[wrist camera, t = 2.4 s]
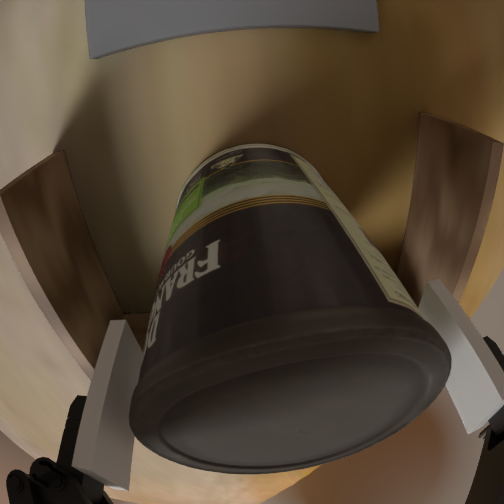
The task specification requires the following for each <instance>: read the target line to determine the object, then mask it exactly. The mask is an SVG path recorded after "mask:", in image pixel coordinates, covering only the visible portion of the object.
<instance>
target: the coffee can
mask: <svg viewBox="0 0 504 504" xmlns="http://www.w3.org/2000/svg"><path fill="white" fill-rule="evenodd" d="M451 363H452V358H451V353H450V351H449V348H448V346H447V344H446V343H445V341H444V340H443V338H442V337H441V336H440V334H439V333H438V332H437V330H436V329H435V328H434V327H433V326H432V325H431V324H430V323H428V322H427V321H426V320H425V319H424V317H423V316H422V314H421V312H420V311H419V309H418V308H417V306H416V305H415V303H414V301H413V300H412V298H411V297H410V295H409V294H408V292H407V291H406V289H405V288H404V286H403V285H402V283H401V282H400V280H399V279H398V277H397V276H396V275H395V273H394V272H393V270H392V269H391V267H390V266H389V265H388V263H387V262H386V260H385V258H384V257H383V256H382V254H381V253H380V252H379V251H378V249H377V248H376V246H375V245H374V244H373V242H372V241H371V240H370V239H369V237H368V236H367V235H366V233H365V232H364V231H363V229H362V228H361V227H360V225H359V224H358V223H357V221H356V220H355V219H354V217H353V216H352V215H351V214H350V212H349V211H348V210H347V209H346V207H345V206H344V205H343V203H342V202H341V201H340V200H339V198H338V197H337V196H336V195H335V193H334V192H333V191H332V190H331V189H330V187H329V186H328V185H327V184H326V183H325V182H324V180H323V179H322V177H321V175H320V174H319V173H318V171H317V170H316V169H315V168H314V167H313V166H312V165H311V164H310V163H309V162H308V161H307V160H305V159H304V158H303V157H301V156H300V155H298V154H296V153H294V152H293V151H291V150H289V149H286V148H282V147H279V146H275V145H270V144H245V145H239V146H235V147H232V148H228V149H225V150H223V151H221V152H218V153H216V154H215V155H213V156H211V157H210V158H208V159H207V160H205V161H204V162H203V163H202V164H201V165H200V166H199V167H198V168H197V169H196V170H195V171H194V172H193V173H192V174H191V175H190V177H189V178H188V179H187V181H186V183H185V184H184V186H183V188H182V190H181V192H180V194H179V198H178V201H177V206H176V213H175V217H174V220H173V224H172V228H171V232H170V235H169V239H168V243H167V247H166V251H165V255H164V259H163V263H162V267H161V271H160V275H159V280H158V283H157V288H156V292H155V297H154V301H153V306H152V310H151V314H150V320H149V325H148V330H147V336H146V340H145V343H144V351H143V357H142V363H141V369H140V374H139V380H138V384H137V386H136V387H135V389H134V392H133V395H132V398H131V404H130V410H129V425H130V428H131V430H132V432H133V434H134V435H135V437H136V438H137V440H139V441H140V442H141V443H142V444H143V445H144V446H145V447H147V448H148V449H150V450H151V451H152V452H154V453H156V454H158V455H159V456H161V457H163V458H166V459H168V460H170V461H173V462H176V463H178V464H181V465H185V466H188V467H191V468H196V469H200V470H205V471H212V472H220V473H228V474H268V473H278V472H287V471H292V470H299V469H304V468H309V467H314V466H318V465H322V464H326V463H329V462H333V461H336V460H339V459H342V458H345V457H347V456H350V455H352V454H355V453H357V452H360V451H362V450H364V449H367V448H369V447H371V446H373V445H375V444H377V443H379V442H381V441H383V440H385V439H386V438H388V437H390V436H391V435H393V434H395V433H396V432H398V431H399V430H401V429H402V428H404V427H405V426H407V425H408V424H409V423H411V422H412V421H413V420H414V419H416V418H417V417H418V416H419V415H420V414H421V413H422V412H423V411H425V410H426V409H427V408H428V407H429V406H430V404H431V403H432V402H433V401H434V400H435V399H436V397H437V396H438V395H439V394H440V392H441V391H442V389H443V388H444V386H445V384H446V382H447V380H448V377H449V375H450V371H451Z"/></svg>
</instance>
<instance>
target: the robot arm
mask: <svg viewBox="0 0 504 504" xmlns="http://www.w3.org/2000/svg"><path fill="white" fill-rule="evenodd" d="M418 309H419V311H420V312H421V314H422V316H423V317H424V319H425V320H426V321H427V322H428V323H430V324H431V325H432V326H433V327H434V328H435V329H436V330H437V332H438V333H439V334H440V336H441V337H442V338H443V340H444V341H445V343H446V344H447V346H448V348H449V351H450V353H451V358H452V363H451V371H450V375H449V377H448V380H447V382H446V384H445V385H446V387H447V389H448V392H449V394H450V396H451V398H452V400H453V402H454V404H455V406H456V408H457V410H458V413H459V415H460V417H461V419H462V421H463V424H464V426H465V429H466V431H467V433H468V434H470V433H471V432H473V431H475V430H477V429H479V428H481V427H482V426H483V425H484V424H485V423H486V422H487V421H489V423H490V424H489V425H488V426H487V427H486V428H485V429H484V430H483V431H482V432H481V433H480V435H479V438H481V437H482V436H483V435H484V434H485V433H486V435H485V436H484V438H483V439H485V441H484V445H483V449H482V452H481V456H480V460H479V463H478V467H477V470H476V474H475V477H474V480H473V483H472V486H471V489H470V492H469V494H468V497H467V500H466V502H465V504H504V355H503V354H502V352H501V351H500V349H499V348H498V346H497V344H496V343H495V342H494V341H492V340H491V339H490V338H489V337H488V336H486V337H484V338H482V336H481V335H480V334H479V332H478V330H477V329H476V327H475V326H474V325H473V323H472V322H471V320H470V319H469V317H468V316H467V315H466V313H465V312H464V310H463V309H462V308H461V306H460V305H459V303H458V302H457V301H456V299H455V298H454V297H453V295H452V294H451V293H450V291H449V290H448V289H447V288H446V286H445V285H444V284H443V282H442V281H441V280H440V279H436V280H432V281H427V283H426V286H425V289H424V293H423V296H422V299H421V301H420V304H419V307H418ZM142 357H143V352H142V350H141V348H140V346H139V344H138V342H137V340H136V338H135V337H134V335H133V333H132V331H131V329H130V327H129V325H128V323H127V321H126V320H110V323H109V326H108V329H107V332H106V335H105V338H104V341H103V344H102V347H101V350H100V353H99V357H98V360H97V363H96V367H95V370H94V373H93V377H92V380H91V384H90V387H89V391H88V395H87V396H79V395H77V397H76V398H75V400H74V401H73V402H72V404H71V405H70V409H69V413H68V416H67V418H68V419H67V420H66V424H65V429H64V432H63V436H62V441H61V445H60V450H59V454H58V459H57V462H56V463H55V462H54V461H52V460H51V459H49V458H46V457H41V458H38V459H36V460H35V461H34V462H33V463H32V466H31V467H30V474H26V473H24V472H22V471H21V470H13V471H11V472H10V473H9V474H8V476H7V480H6V486H7V492H8V497H9V502H10V504H113V502H112V501H111V500H110V498H109V497H108V495H107V494H106V492H105V491H104V490H103V489H104V485H106V486H108V487H110V488H113V489H118V490H125V491H129V483H130V472H131V462H132V453H133V444H134V436H135V435H134V434H133V432H132V430H131V428H130V425H129V410H130V404H131V398H132V395H133V392H134V389H135V387H136V386H137V384H138V380H139V374H140V369H141V363H142Z"/></svg>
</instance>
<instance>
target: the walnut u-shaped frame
mask: <svg viewBox="0 0 504 504" xmlns="http://www.w3.org/2000/svg"><path fill="white" fill-rule="evenodd" d="M503 145H504V143H502V142H499V141H497V140H495V139H493V138H491V137H489V136H486V135H484V134H482V133H480V132H477V131H475V130H473V129H470V128H468V127H465V126H463V125H460V124H458V123H455V122H453V121H450V120H447V119H444V118H442V117H439V116H436V115H433V114H429V113H420V112H419V130H418V144H417V155H416V165H415V173H414V181H413V189H412V196H411V203H410V209H409V215H408V221H407V226H406V232H405V237H404V242H403V247H402V251H401V256H400V261H399V265H398V269H397V273H396V276H397V277H398V279H399V280H400V282H401V283H402V285H403V286H404V288H405V289H406V291H407V292H408V294H409V295H410V297H411V298H412V300H413V301H414V303H415V305H416V306H417V308H418V307H419V304H420V301H421V299H422V296H423V293H424V289H425V286H426V283H427V281H432V280H436V279H440V280H441V281H442V282H443V284H444V285H445V286H446V288H447V289H448V290H449V291H450V293H451V294H452V295H453V297H454V298H455V299H456V301H457V302H458V303H459V301H460V299H461V296H462V294H463V291H464V289H465V287H466V284H467V282H468V279H469V276H470V274H471V271H472V268H473V266H474V263H475V260H476V257H477V254H478V251H479V248H480V245H481V242H482V239H483V235H484V232H485V229H486V225H487V222H488V218H489V214H490V211H491V207H492V203H493V198H494V194H495V190H496V185H497V180H498V175H499V170H500V164H501V158H502V152H503ZM0 232H1V234H2V237H3V239H4V241H5V243H6V245H7V248H8V250H9V252H10V254H11V256H12V258H13V260H14V262H15V264H16V266H17V268H18V270H19V272H20V274H21V276H22V278H23V280H24V281H25V283H26V285H27V287H28V289H29V290H30V292H31V294H32V296H33V297H34V299H35V301H36V303H37V304H38V306H39V308H40V309H41V311H42V312H43V314H44V316H45V317H46V319H47V320H48V322H49V324H50V325H51V327H52V328H53V330H54V331H55V333H56V334H57V336H58V337H59V338H60V340H61V341H62V343H63V344H64V346H65V347H66V348H67V350H68V351H69V353H70V354H71V355H72V357H73V358H74V359H75V361H76V362H77V363H78V365H79V366H80V367H81V369H82V370H83V371H84V372H85V374H86V375H87V376H88V377H89V379H90V380H92V377H93V373H94V370H95V367H96V363H97V360H98V357H99V353H100V350H101V347H102V344H103V341H104V338H105V335H106V332H107V329H108V326H109V323H110V320H126V321H127V323H128V325H129V327H130V329H131V331H132V333H133V335H134V337H135V338H136V340H137V342H138V344H139V346H140V348H141V350H142V352H143V351H144V343H145V340H146V336H147V330H148V325H149V320H150V314H151V313H138V314H125V315H124V313H123V311H122V309H121V307H120V305H119V303H118V301H117V298H116V296H115V294H114V292H113V290H112V287H111V285H110V283H109V281H108V278H107V276H106V274H105V271H104V269H103V266H102V264H101V262H100V259H99V257H98V254H97V252H96V249H95V247H94V244H93V241H92V239H91V236H90V233H89V231H88V228H87V225H86V222H85V219H84V217H83V214H82V211H81V208H80V205H79V202H78V199H77V195H76V192H75V189H74V186H73V182H72V179H71V176H70V172H69V169H68V165H67V161H66V158H65V154H64V150H63V151H59V152H56V153H53V154H51V155H49V156H48V157H46V158H45V159H43V160H42V161H40V162H39V163H37V164H36V165H34V166H33V167H31V168H30V169H28V170H27V171H25V172H24V173H23V174H21V175H20V176H18V177H17V178H16V179H14V180H13V181H11V182H10V183H9V184H7V185H6V186H5V187H3V188H2V189H1V190H0Z"/></svg>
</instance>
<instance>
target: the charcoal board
mask: <svg viewBox="0 0 504 504" xmlns="http://www.w3.org/2000/svg"><path fill="white" fill-rule="evenodd" d="M85 15H86V28H87V38H88V48H89V56H90V59H98V58H101V57H104V56H107V55H111V54H114V53H117V52H121V51H124V50H128V49H131V48H135V47H139V46H143V45H147V44H151V43H156V42H160V41H165V40H170V39H175V38H180V37H186V36H192V35H198V34H205V33H213V32H221V31H231V30H242V29H257V28H322V29H337V30H348V31H358V32H366V33H377V32H380V31H379V19H378V9H377V0H85Z"/></svg>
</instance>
